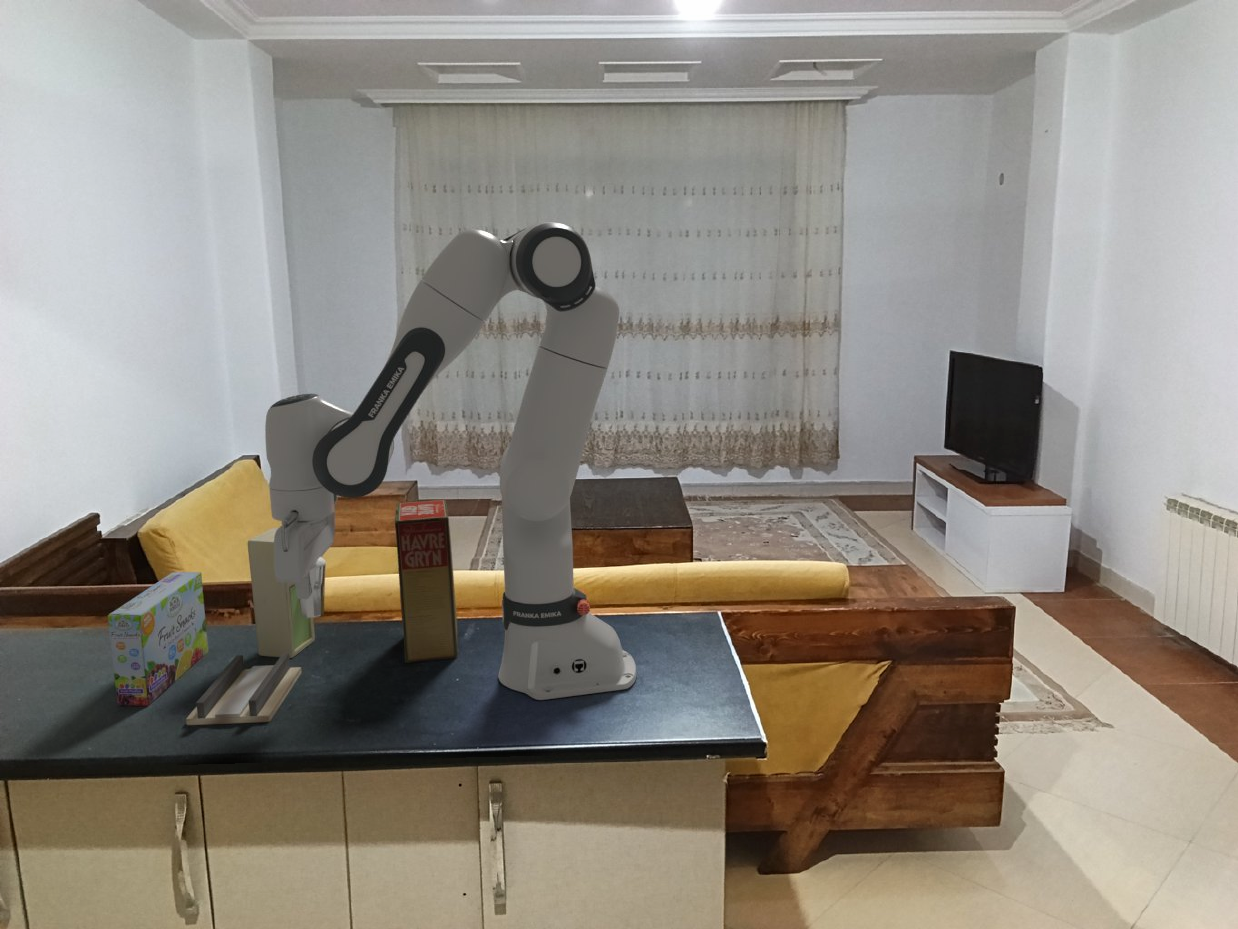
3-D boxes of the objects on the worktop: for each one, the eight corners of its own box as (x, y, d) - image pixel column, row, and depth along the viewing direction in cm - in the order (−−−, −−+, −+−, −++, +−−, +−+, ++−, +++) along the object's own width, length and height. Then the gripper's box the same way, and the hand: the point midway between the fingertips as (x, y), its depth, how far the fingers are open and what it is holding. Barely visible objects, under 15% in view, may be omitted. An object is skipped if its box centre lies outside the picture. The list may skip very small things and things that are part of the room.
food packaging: (404, 633, 168) (395, 501, 163) (456, 629, 170) (449, 498, 165) (403, 663, 156) (393, 521, 150) (459, 657, 157) (451, 517, 152)
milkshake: (311, 607, 144) (307, 545, 142) (335, 612, 141) (331, 549, 140) (287, 615, 140) (283, 552, 138) (311, 621, 137) (307, 556, 136)
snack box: (152, 707, 141) (140, 614, 138) (116, 707, 141) (103, 615, 138) (211, 651, 162) (202, 569, 159) (179, 651, 162) (169, 570, 159)
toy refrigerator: (296, 659, 158) (285, 542, 154) (257, 656, 159) (245, 540, 155) (319, 641, 166) (310, 529, 161) (282, 638, 167) (272, 527, 163)
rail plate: (301, 672, 152) (299, 653, 152) (269, 721, 136) (267, 699, 135) (227, 675, 152) (225, 655, 151) (186, 725, 135) (183, 703, 134)
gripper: (304, 521, 127) (312, 615, 130) (339, 487, 147) (345, 569, 150) (258, 522, 127) (267, 617, 130) (299, 488, 147) (306, 570, 150)
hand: (309, 591), depth 140 cm, fingers closed on milkshake, 4 cm apart
